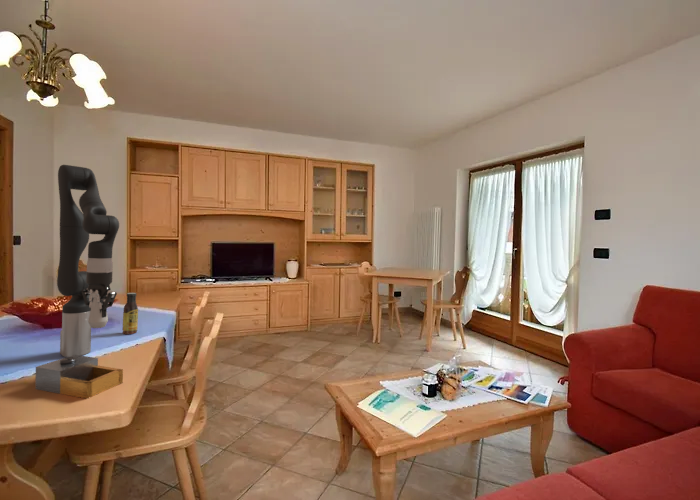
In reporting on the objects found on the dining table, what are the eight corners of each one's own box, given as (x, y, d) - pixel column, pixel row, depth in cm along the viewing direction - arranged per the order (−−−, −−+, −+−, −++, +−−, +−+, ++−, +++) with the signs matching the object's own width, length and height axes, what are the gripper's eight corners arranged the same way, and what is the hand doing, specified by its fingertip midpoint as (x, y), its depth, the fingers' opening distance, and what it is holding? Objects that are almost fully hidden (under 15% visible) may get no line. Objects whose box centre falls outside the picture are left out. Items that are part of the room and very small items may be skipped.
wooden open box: (25, 387, 108) (26, 362, 108) (65, 373, 119) (66, 350, 119) (87, 398, 102) (87, 372, 102) (122, 382, 114) (123, 359, 113)
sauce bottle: (130, 335, 165) (130, 294, 165) (119, 334, 166) (119, 293, 166) (140, 332, 172) (141, 292, 171) (130, 330, 173) (131, 291, 172)
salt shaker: (95, 324, 126) (96, 289, 125) (111, 324, 126) (112, 290, 126) (84, 328, 120) (85, 291, 120) (101, 329, 120) (102, 292, 120)
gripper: (73, 269, 120) (72, 318, 121) (105, 272, 117) (103, 322, 118) (94, 268, 128) (93, 314, 128) (124, 271, 124) (123, 318, 125)
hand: (98, 318), depth 123 cm, fingers closed on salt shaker, 3 cm apart
